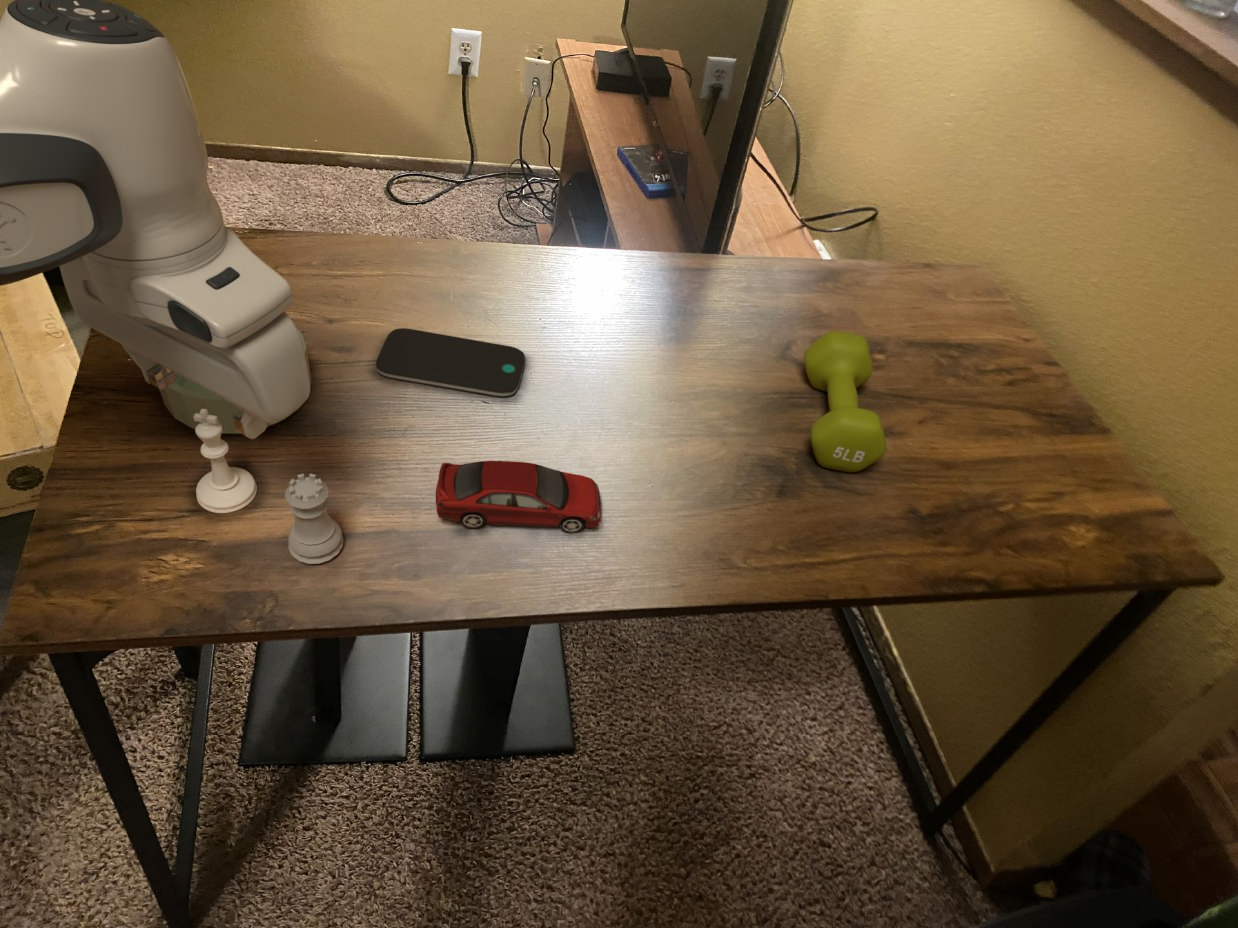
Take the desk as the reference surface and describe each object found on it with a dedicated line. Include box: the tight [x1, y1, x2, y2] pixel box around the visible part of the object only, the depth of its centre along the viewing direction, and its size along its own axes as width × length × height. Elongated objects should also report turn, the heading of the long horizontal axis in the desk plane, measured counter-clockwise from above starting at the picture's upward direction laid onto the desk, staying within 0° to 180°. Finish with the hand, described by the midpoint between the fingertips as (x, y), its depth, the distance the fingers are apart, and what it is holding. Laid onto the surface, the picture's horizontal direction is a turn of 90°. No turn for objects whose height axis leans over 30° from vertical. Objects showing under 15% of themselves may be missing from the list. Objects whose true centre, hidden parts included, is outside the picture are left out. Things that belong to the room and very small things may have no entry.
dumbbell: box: [803, 330, 887, 473], centre depth 90 cm, size 16×8×7 cm, turn 174°
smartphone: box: [375, 327, 526, 397], centre depth 89 cm, size 8×1×15 cm
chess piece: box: [193, 409, 258, 514], centre depth 70 cm, size 5×5×10 cm
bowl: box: [158, 328, 312, 435], centre depth 81 cm, size 13×13×5 cm
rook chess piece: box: [284, 473, 344, 565], centre depth 69 cm, size 4×4×8 cm
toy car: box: [435, 460, 602, 534], centre depth 76 cm, size 6×15×5 cm, turn 91°
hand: (206, 406), depth 67 cm, fingers open, 8 cm apart
